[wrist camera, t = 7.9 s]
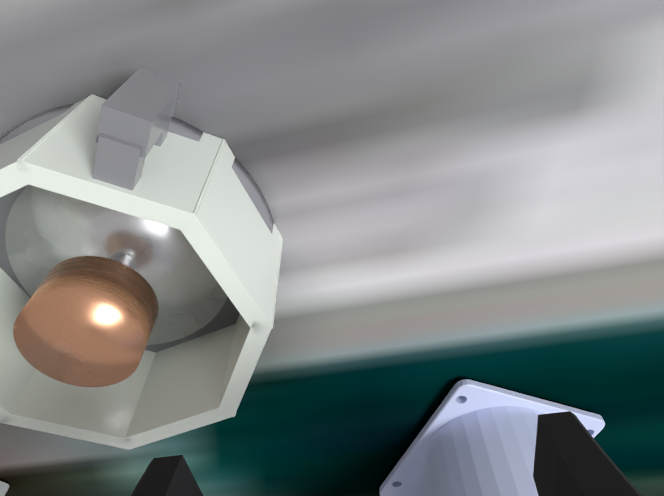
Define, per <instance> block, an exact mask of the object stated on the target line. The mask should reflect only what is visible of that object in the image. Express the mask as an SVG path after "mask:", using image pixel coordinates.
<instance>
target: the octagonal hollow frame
mask: <svg viewBox="0 0 664 496" xmlns="http://www.w3.org/2000/svg"><path fill="white" fill-rule="evenodd" d="M180 87H181V82H178V81H176V80H173V79H170V78H167V77H164V76H162V75H159V74H156V73H153V72H150V71H148V70H145V69H142V68H139V69H138V70H137V71H136V72H135V73H134V74H133V75H132V76H131V77H130V78H129V79H128V80H127V81H126V82H125V83H123V84H122V85H121V86H120V87H119V88H118V89H117V90H116V91H115V92H114V93H113V94H112V95H111V96H110V97H109V98H108V99H104V98H101V97H98V96H95V95H94V94H93V95H92V94H91V95H90V96H89V97H87V98H85V99H83V100H81V101H79V102H77V103H75V104H71V105H66V106H62V107H58V108H54V109H51V110H49V111H46V112H44V113H41V114H39V115H36V116H34V117H33V118H31V119H29V120H28V121H26V122H24V123H23V124H21V125H20V126H18V127H17V128H16V129H14V130H13V131H12V132H10V133H9V134H8V135H7V136H5V137H4V138H3V139H2V140H1V141H0V423H2V424H8V425H13V426H18V427H23V428H27V429H32V430H37V431H42V432H47V433H51V434H56V435H61V436H66V437H71V438H75V439H80V440H85V441H90V442H95V443H99V444H104V445H109V446H114V447H118V448H123V449H128V450H131V449H133V448H136V447H139V446H143V445H146V444H149V443H152V442H155V441H158V440H161V439H165V438H168V437H171V436H174V435H177V434H180V433H183V432H187V431H190V430H193V429H196V428H199V427H202V426H205V425H208V424H212V423H215V422H218V421H221V420H224V419H227V418H230V417H234V416H236V411H237V409H238V406H239V404H240V402H241V399H242V397H243V395H244V392H245V390H246V388H247V385H248V383H249V381H250V378H251V376H252V374H253V371H254V369H255V367H256V364H257V362H258V359H259V357H260V355H261V352H262V350H263V348H264V345H265V343H266V341H267V338H268V336H269V334H270V331H271V329H273V323H274V314H275V305H276V297H277V288H278V279H279V270H280V262H281V253H282V244H283V237H282V236H281V234H280V232H279V231H278V229H277V227H276V226H275V224H274V221H273V218H272V215H271V212H270V209H269V206H268V204H267V202H266V200H265V198H264V196H263V194H262V192H261V190H260V188H259V187H258V186H257V184H256V183H255V181H254V180H253V178H252V177H251V175H250V174H249V173H248V171H247V170H246V169H245V168H244V167H243V166H242V165H241V163H240V162H239V161H238V160H237V159H236V158H235V157H234V155H233V153H232V152H231V150H230V148H229V147H228V145H227V143H226V140H224V138H223V139H221V138H218V137H215V136H213V135H210V134H207V133H204V132H202V131H200V130H199V129H197V128H195V127H193V126H191V125H189V124H188V123H186V122H184V121H182V120H179V119H177V118H175V117H173V115H174V113H175V109H176V104H177V100H178V95H179V91H180ZM28 185H32V186H35V187H39V188H42V189H46V190H49V191H52V192H56V193H59V194H62V195H66V196H69V197H72V198H76V199H79V200H82V201H86V202H89V203H92V204H96V205H99V206H102V207H106V208H109V209H112V210H116V211H119V212H122V213H126V214H129V215H132V216H136V217H139V218H142V219H146V220H149V221H152V222H156V223H159V224H162V225H166V226H169V227H172V228H176V229H179V230H181V231H182V233H183V234H184V236H185V237H186V238H187V240H188V241H189V243H190V244H191V245H192V247H193V248H194V250H195V251H196V252H197V254H198V255H199V257H200V258H201V259H202V261H203V262H204V264H205V265H206V266H207V268H208V269H209V271H210V272H211V273H212V275H213V276H214V278H215V279H216V280H217V282H218V283H219V285H220V286H221V287H222V289H223V290H224V292H225V293H226V294H227V296H228V297H227V299H226V301H225V304H224V305H223V307H222V308H221V310H220V311H219V313H218V314H217V315H216V316H215V317H214V318H213V319H212V320H211V321H210V322H209V323H208V324H207V325H205V326H204V327H203V328H201V329H200V330H198V331H196V332H195V333H193V334H191V335H188V336H186V337H184V338H181V339H178V340H175V341H171V342H166V343H161V344H151V345H146V348H145V350H144V353H143V355H142V358H141V361H140V363H139V366H138V367H137V369H136V370H135V372H134V373H133V374H132V375H131V376H129V377H128V378H127V379H125V380H123V381H121V382H119V383H117V384H113V385H110V386H105V387H80V386H74V385H70V384H66V383H63V382H60V381H57V380H55V379H53V378H50V377H48V376H47V375H45V374H43V373H41V372H40V371H38V370H37V369H36V368H34V367H33V366H32V365H31V364H30V363H29V362H28V361H27V360H26V359H25V358H24V357H23V356H22V354H21V353H20V351H19V350H18V348H17V346H16V343H15V340H14V335H13V328H14V323H15V321H16V318H17V317H18V315H19V314H20V312H21V311H22V309H23V308H24V307H25V305H26V304H27V302H28V301H29V300H30V298H31V296H30V295H29V294H28V292H27V291H26V290H25V289H24V287H23V286H22V284H21V283H20V281H19V280H18V278H17V276H16V275H15V273H14V271H13V269H12V266H11V264H10V261H9V258H8V255H7V250H6V244H5V229H6V222H7V218H8V215H9V212H10V210H11V208H12V206H13V204H14V202H15V201H16V199H17V198H18V196H19V195H20V194H21V193H22V192H23V191H24V189H25V188H26V187H27V186H28Z"/></svg>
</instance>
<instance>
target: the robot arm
mask: <svg viewBox="0 0 664 496" xmlns="http://www.w3.org/2000/svg"><path fill="white" fill-rule="evenodd" d="M459 396H461V397H459ZM604 426H605V422H604V420H603V418H602V416H600V415H598V414H595V413H591V412H587V411H584V410H580V409H576V408H573V407H569V406H565V405H562V404H558V403H554V402H551V401H547V400H543V399H540V398H536V397H532V396H528V395H525V394H521V393H517V392H514V391H510V390H506V389H503V388H499V387H495V386H492V385H488V384H484V383H481V382H477V381H473V380H469V379H464V380H460V381H458V382H457V383H456V384H455V385H454V387H453V388H452V389H451V391H450V392H449V393H448V395H447V396H446V397H445V399H444V400H443V402H442V403H441V404H440V406H439V407H438V408H437V410H436V411H435V412H434V414H433V415H432V417H431V418H430V419H429V421H428V422H427V423H426V425H425V426H424V427H423V429H422V430H421V432H420V433H419V434H418V436H417V437H416V438H415V440H414V441H413V442H412V444H411V445H410V447H409V448H408V449H407V451H406V452H405V453H404V455H403V456H402V458H401V459H400V460H399V462H398V463H397V464H396V466H395V467H394V468H393V470H392V471H391V473H390V474H389V475H388V477H387V478H386V479H385V481H384V482H383V483H382V485H381V486H380V488H379V492H380V496H642V495H641V494H640V493H639V491H638V490H637V489H636V488H635V487H634V486H633V485H632V484H631V482H630V481H629V480H628V479H627V478H626V477H625V475H624V474H623V473H622V472H621V471H620V470H619V468H618V467H617V466H616V465H615V464H614V462H613V461H612V460H611V459H610V458H609V457H608V455H607V454H606V453H605V452H604V450H603V449H602V448H601V447H600V446H599V444H598V443H597V442H596V441H595V439H594V437H595V436H596V435H597V434H598V433H599V432H600V431H601V430H602V429H603V428H604ZM131 496H203V494H202V492H201V491H200V489H199V487H198V485H197V483H196V481H195V479H194V477H193V475H192V473H191V471H190V469H189V467H188V465H187V463H186V461H185V459H184V457H183V455H178V456H169V457H161V458H154V459H153V460H152V461H151V462H150V464H149V466H148V467H147V469H146V471H145V472H144V474H143V476H142V478H141V479H140V481H139V483H138V484H137V486H136V488H135V489H134V491H133V493H132V494H131Z"/></svg>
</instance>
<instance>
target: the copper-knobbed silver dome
mask: <svg viewBox="0 0 664 496" xmlns="http://www.w3.org/2000/svg"><path fill="white" fill-rule="evenodd" d="M5 244H6V250H7V255H8V258H9V261H10V264H11V266H12V269H13V271H14V273H15V275H16V276H17V278H18V280H19V281H20V283H21V284H22V286H23V287H24V289H25V290H26V291H27V292H28V294H29V295H30V296H31V298H30V300H29V301H28V302H27V304H26V305H25V307H24V308H23V309H22V311H21V312H20V314H19V315H18V317H17V318H16V321H15V323H14V328H13V335H14V340H15V343H16V346H17V348H18V350H19V351H20V353H21V354H22V356H23V357H24V358H25V359H26V360H27V361H28V362H29V363H30V364H31V365H32V366H33V367H34V368H36V369H37V370H38V371H40V372H41V373H43V374H45V375H47V376H48V377H50V378H53V379H55V380H57V381H60V382H63V383H66V384H70V385H74V386H80V387H105V386H110V385H113V384H117V383H119V382H121V381H123V380H125V379H127V378H128V377H129V376H131V375H132V374H133V373H134V372H135V370H136V369H137V367H138V366H139V363H140V361H141V358H142V355H143V353H144V350H145V348H146V345H151V344H161V343H166V342H171V341H175V340H178V339H181V338H184V337H186V336H188V335H191V334H193V333H195V332H196V331H198V330H200V329H201V328H203V327H204V326H205V325H207V324H208V323H209V322H210V321H211V320H212V319H213V318H214V317H215V316H216V315H217V314H218V313H219V311H220V310H221V308H222V307H223V305H224V304H225V301H226V299H227V297H228V296H227V294H226V293H225V292H224V290H223V289H222V287H221V286H220V285H219V283H218V282H217V280H216V279H215V278H214V276H213V275H212V273H211V272H210V271H209V269H208V268H207V266H206V265H205V264H204V262H203V261H202V259H201V258H200V257H199V255H198V254H197V252H196V251H195V250H194V248H193V247H192V245H191V244H190V243H189V241H188V240H187V238H186V237H185V236H184V234H183V233H182V231H181V230H179V229H176V228H172V227H169V226H166V225H162V224H159V223H156V222H152V221H149V220H146V219H142V218H139V217H136V216H132V215H129V214H126V213H122V212H119V211H116V210H112V209H109V208H106V207H102V206H99V205H96V204H92V203H89V202H86V201H82V200H79V199H76V198H72V197H69V196H66V195H62V194H59V193H56V192H52V191H49V190H46V189H42V188H39V187H35V186H32V185H28V186H27V187H26V188H25V189H24V191H23V192H22V193H21V194H20V195H19V196H18V198H17V199H16V201H15V202H14V204H13V206H12V208H11V210H10V212H9V215H8V218H7V222H6V229H5Z"/></svg>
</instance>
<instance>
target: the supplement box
mask: <svg viewBox="0 0 664 496" xmlns="http://www.w3.org/2000/svg"><path fill="white" fill-rule="evenodd" d="M8 488H9V484H7V483H5V482H2V481H0V496H4V495H5V494H6V492H7V490H8Z"/></svg>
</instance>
